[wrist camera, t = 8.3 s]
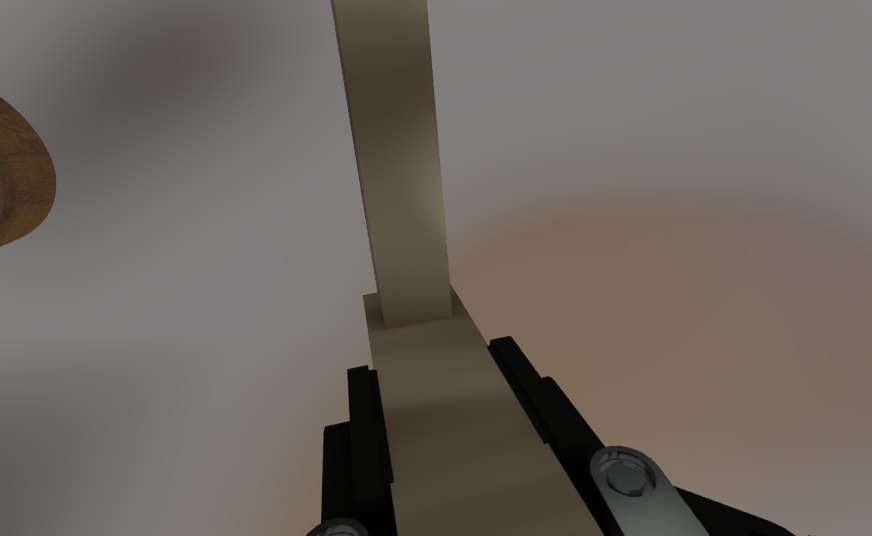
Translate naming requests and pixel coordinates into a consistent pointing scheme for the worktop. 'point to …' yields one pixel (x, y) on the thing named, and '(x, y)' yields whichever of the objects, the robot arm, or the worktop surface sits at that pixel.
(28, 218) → the mortar and pestle
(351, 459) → the robot arm
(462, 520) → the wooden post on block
